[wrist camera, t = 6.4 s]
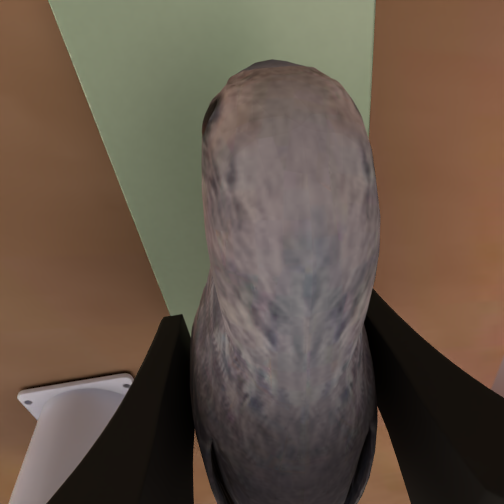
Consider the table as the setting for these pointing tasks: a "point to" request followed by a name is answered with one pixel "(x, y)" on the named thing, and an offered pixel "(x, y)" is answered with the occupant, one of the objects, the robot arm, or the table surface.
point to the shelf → (193, 98)
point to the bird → (286, 291)
